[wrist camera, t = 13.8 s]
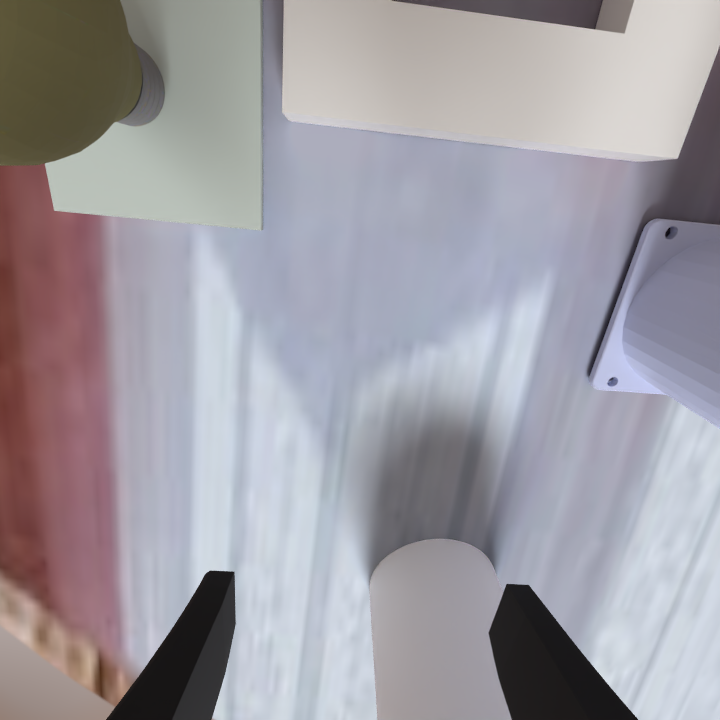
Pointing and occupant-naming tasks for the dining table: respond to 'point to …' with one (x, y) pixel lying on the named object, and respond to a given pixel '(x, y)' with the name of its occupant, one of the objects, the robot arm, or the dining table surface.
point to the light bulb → (69, 78)
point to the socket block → (503, 74)
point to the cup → (435, 633)
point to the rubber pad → (182, 124)
